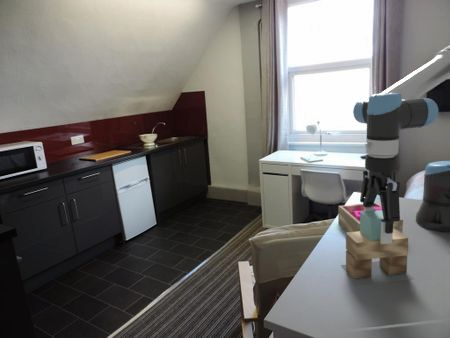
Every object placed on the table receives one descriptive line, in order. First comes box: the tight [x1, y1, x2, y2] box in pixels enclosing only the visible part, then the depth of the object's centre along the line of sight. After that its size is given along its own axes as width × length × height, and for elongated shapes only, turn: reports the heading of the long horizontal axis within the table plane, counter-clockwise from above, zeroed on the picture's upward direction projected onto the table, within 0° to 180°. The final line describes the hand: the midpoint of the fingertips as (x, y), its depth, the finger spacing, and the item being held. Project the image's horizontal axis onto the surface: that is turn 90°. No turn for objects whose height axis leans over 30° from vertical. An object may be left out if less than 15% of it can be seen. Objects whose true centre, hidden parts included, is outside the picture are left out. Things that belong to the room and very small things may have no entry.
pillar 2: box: [379, 255, 408, 275], centre depth 91 cm, size 5×5×6 cm
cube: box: [360, 210, 393, 241], centre depth 88 cm, size 6×6×6 cm
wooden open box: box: [337, 201, 404, 234], centre depth 116 cm, size 15×17×7 cm
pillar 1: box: [345, 249, 373, 279], centre depth 90 cm, size 5×5×6 cm
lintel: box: [345, 228, 409, 260], centre depth 89 cm, size 14×7×5 cm, turn 93°
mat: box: [340, 260, 415, 286], centre depth 91 cm, size 16×10×1 cm, turn 93°
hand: (376, 235), depth 88 cm, fingers open, 8 cm apart
